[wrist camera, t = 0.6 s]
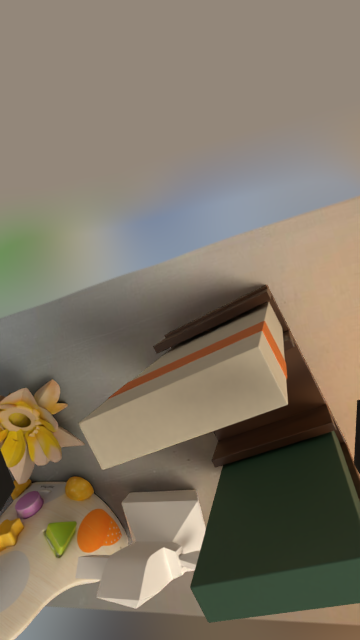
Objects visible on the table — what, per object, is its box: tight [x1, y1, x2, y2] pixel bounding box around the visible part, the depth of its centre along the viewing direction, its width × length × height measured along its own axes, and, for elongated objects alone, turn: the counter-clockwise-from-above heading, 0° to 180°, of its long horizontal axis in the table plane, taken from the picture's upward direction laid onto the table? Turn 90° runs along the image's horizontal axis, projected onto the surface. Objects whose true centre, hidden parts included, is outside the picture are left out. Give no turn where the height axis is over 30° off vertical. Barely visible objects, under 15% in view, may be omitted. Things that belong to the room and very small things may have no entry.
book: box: [78, 302, 288, 470], centre depth 25 cm, size 3×11×18 cm, turn 118°
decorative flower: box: [0, 379, 85, 484], centre depth 39 cm, size 15×11×10 cm
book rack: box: [153, 285, 360, 501], centre depth 28 cm, size 18×12×13 cm, turn 28°
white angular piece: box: [75, 490, 206, 609], centre depth 34 cm, size 8×14×14 cm, turn 105°
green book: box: [190, 431, 360, 623], centre depth 26 cm, size 3×11×16 cm, turn 119°
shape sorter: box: [0, 476, 128, 640], centre depth 37 cm, size 20×10×18 cm, turn 103°
